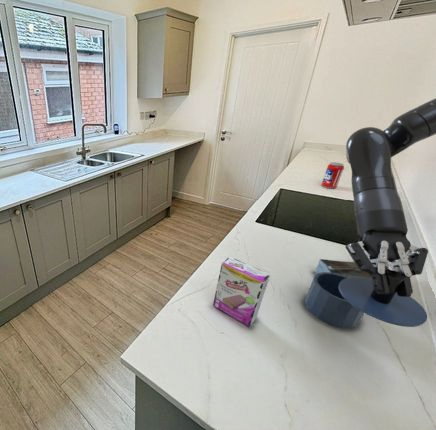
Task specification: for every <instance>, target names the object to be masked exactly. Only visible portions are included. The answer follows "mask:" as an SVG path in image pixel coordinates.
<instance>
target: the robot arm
mask: <svg viewBox="0 0 436 430" xmlns="http://www.w3.org/2000/svg"><path fill="white" fill-rule="evenodd" d="M435 135H436V97H435V98H432V99H431V100H428V101H427V102H424V103H422V104H420V105H418V106H415V107H414V108H412V109H409V110H408V111H406V112H404V113H402V114H400V115H398V116H397V117H395V118H394V119H393V120H392V122H391V123H390V125H389V126H388V127H387V128H386V129H384V130H382V129H380V128H378V127H374V126H365V127H361V128H359V129H357V130H356V131H354V132H353V133H351V135H350V136H349V137H348V139H347V140H346V143H345V158H346V162H348V164H349V166H350V170H351V189H352V195H353V212H354V216H355V217H354V218H355V222H356V229H357V230H356V231H357V234H358V235H359V239H358V241H355V242H351V243H349V244H345V249H346V252H348V254H349V256H350V257H351V259H352V261H353V262H355V264H356V265H357V267H358V268H359V270H360V271H365V272H368V273H369V274H370V275H371V277H372V283H373V288H374V290H375V291H376V292H377V294H389V288H388V282H387V277H386V275H383V274H384V273H385V264H386V263H388V265H389V268H390V267H391V270H393V271H396V272H399V273H401V274H402V275H403V276H404V277H405V279H404V280H403V282H402V284H401V285H400V287H399V288H398V290H397V295H398V296H401V297H412V295H413V292H414V290H413V286H412V281H411V277H413V276H419V275H422V273H423V270H424V267H425V264H426V260H427V257H428V253H429V250H428V249H427V247H417V246H415V245H412V244H411V242H410V240H409V239H408V237H407V234H408V231H409V229H408V225H407V220H406V215H405V212H404V206H403V201H402V199H401V197H400V195H399V192H398V188H397V183H396V179H395V175H394V172H393V169H392V158H393V157H395V156H396V155H398V154H400V153H402V152H403V151H406V150H407V149H408V148H410V147H411V146H413V145H414V144H416V143H418V142H421V141H424V140H426V139H429V138H430V137H431V138H432V137H433V136H435ZM364 250H365V251H366V252H367V253H368V257H367V255H366V254H365V252H364Z"/></svg>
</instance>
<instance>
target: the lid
mask: <svg viewBox="0 0 436 430" xmlns="http://www.w3.org/2000/svg"><path fill="white" fill-rule="evenodd" d="M383 275H386V277H387V282H388V288H389V294H377V292H376V291H375V290H374V288H373V283H372V280H371V279H366V278H358V277H351V278H346V279H343V280H342V281H341V282H340V284H339V291H340V293H341V295H342V296H343V297H344V298H345V299H346V300H347V301H348V302H349V303H350V304H351V305H353V306H354V307H355V308H357V309H358V310H360V311H362V312H364V314H365V315H367V316H369V317H371V318H374V319H375V320H378V321H381V322H383V323H387V324H390V325H394V326H397V327H398V326H399V327H404V328H405V327H406V328H416V327H420V326H422V325H424V324H425V323H426V322H427V320H428V314H427V311H426V310H425V308H424V307H423V306H422V305H421V304H420V303H419V302H418V301H417V300H416V299H414V298H413V297H412V296H410V297H401V296H398V295H397V290H398V288H399V287H400V285H401V284H402V282H403V280H404V279H405V277H404V276H403V275H402V274H401V273H399V272H396V271H393V270H392V269H390V270H385V273H384V274H383Z"/></svg>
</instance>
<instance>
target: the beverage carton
mask: <svg viewBox="0 0 436 430" xmlns="http://www.w3.org/2000/svg"><path fill="white" fill-rule="evenodd" d="M385 270H391V269H390V268H387V267H386V266H385ZM322 272H332V273H336V274H341V275H344V276H346V277H349V278H351V277H358V278H366V279H371V280H372V277H371V275H370V274H369V273H368V272H365V271H360V270H359V268H358V267H357V265H356V264H355V262H354V261H343V260H333V259H324V258H319V261H318V264H317V266H316V268H315V272H314V273H315V275H316V274H318V273H322Z"/></svg>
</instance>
